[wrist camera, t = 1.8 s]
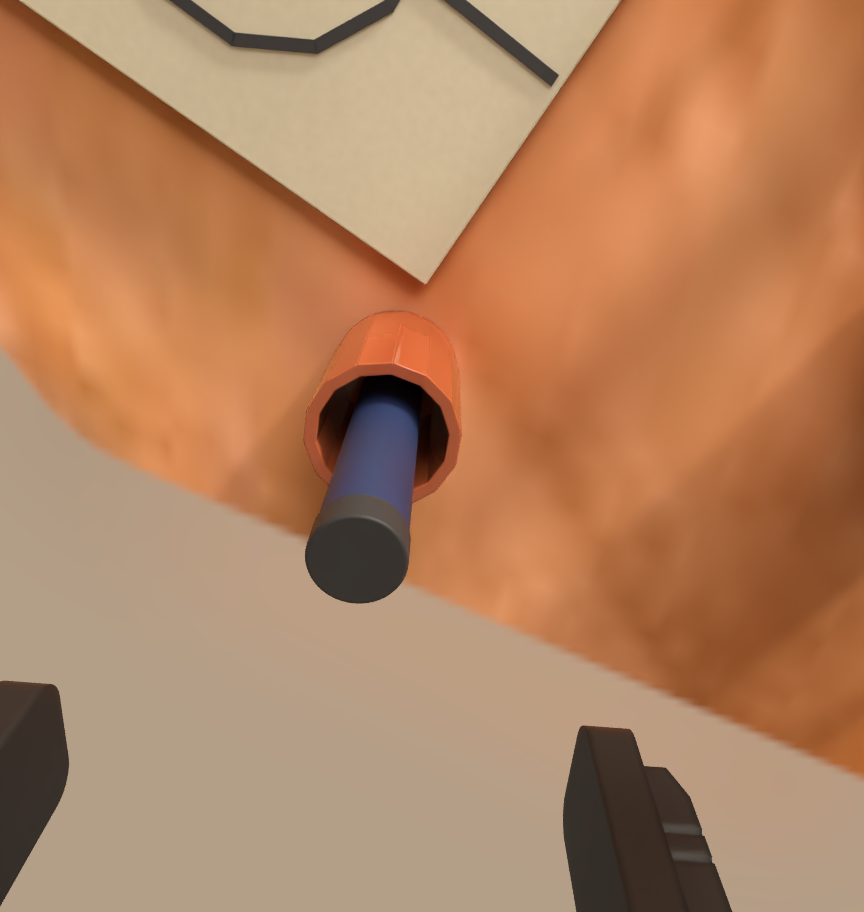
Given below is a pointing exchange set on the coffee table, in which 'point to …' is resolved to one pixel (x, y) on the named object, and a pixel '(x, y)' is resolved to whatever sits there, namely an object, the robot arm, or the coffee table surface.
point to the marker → (369, 496)
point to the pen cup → (407, 357)
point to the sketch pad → (354, 95)
